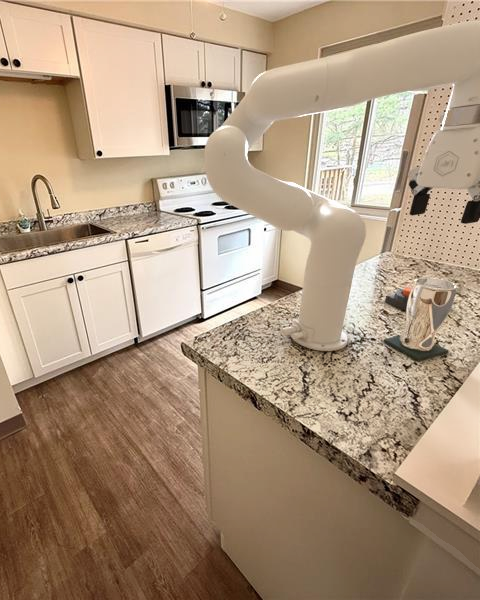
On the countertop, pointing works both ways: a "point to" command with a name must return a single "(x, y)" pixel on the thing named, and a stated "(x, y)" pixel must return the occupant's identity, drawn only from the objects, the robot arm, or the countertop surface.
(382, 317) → the countertop surface
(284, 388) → the countertop surface
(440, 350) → the mat
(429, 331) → the beer glass
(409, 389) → the countertop surface
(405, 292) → the switch
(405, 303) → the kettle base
